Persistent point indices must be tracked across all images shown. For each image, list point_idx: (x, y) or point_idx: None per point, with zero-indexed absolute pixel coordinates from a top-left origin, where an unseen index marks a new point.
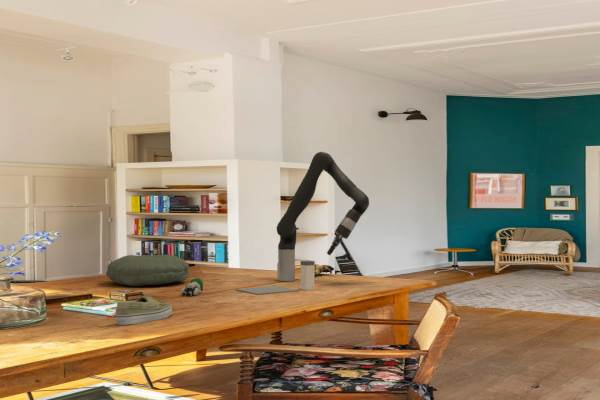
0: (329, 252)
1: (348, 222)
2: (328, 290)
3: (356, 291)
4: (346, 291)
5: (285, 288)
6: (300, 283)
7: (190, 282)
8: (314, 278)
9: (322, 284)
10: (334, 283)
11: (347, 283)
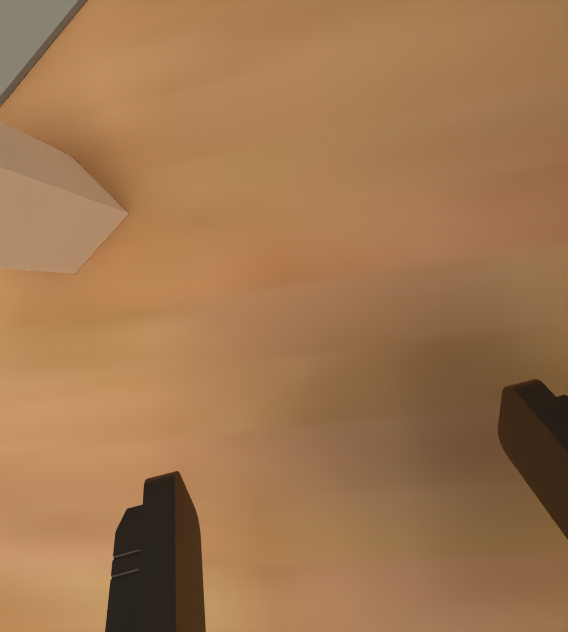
0: (525, 444)
1: None
2: (30, 393)
3: (20, 608)
4: (5, 534)
5: (3, 40)
6: (44, 143)
7: None
8: (16, 269)
9: (420, 289)
10: None
11: None
